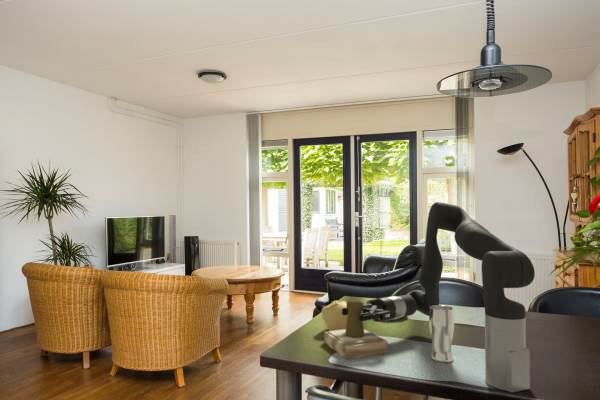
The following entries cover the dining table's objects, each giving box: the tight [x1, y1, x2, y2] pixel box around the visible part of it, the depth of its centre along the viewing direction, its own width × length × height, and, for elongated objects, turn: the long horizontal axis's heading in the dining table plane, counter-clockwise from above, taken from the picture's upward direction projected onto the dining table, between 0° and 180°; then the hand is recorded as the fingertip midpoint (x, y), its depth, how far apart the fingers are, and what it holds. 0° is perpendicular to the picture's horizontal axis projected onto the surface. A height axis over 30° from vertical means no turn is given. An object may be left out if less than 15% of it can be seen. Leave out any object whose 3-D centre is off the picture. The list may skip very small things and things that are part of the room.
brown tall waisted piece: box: [345, 299, 365, 338], centre depth 133 cm, size 6×6×11 cm
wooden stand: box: [323, 328, 389, 360], centre depth 133 cm, size 16×14×4 cm
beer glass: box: [428, 304, 455, 363], centre depth 123 cm, size 7×7×15 cm
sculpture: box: [321, 300, 348, 331], centre depth 151 cm, size 12×12×11 cm
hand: (350, 314), depth 133 cm, fingers open, 8 cm apart
